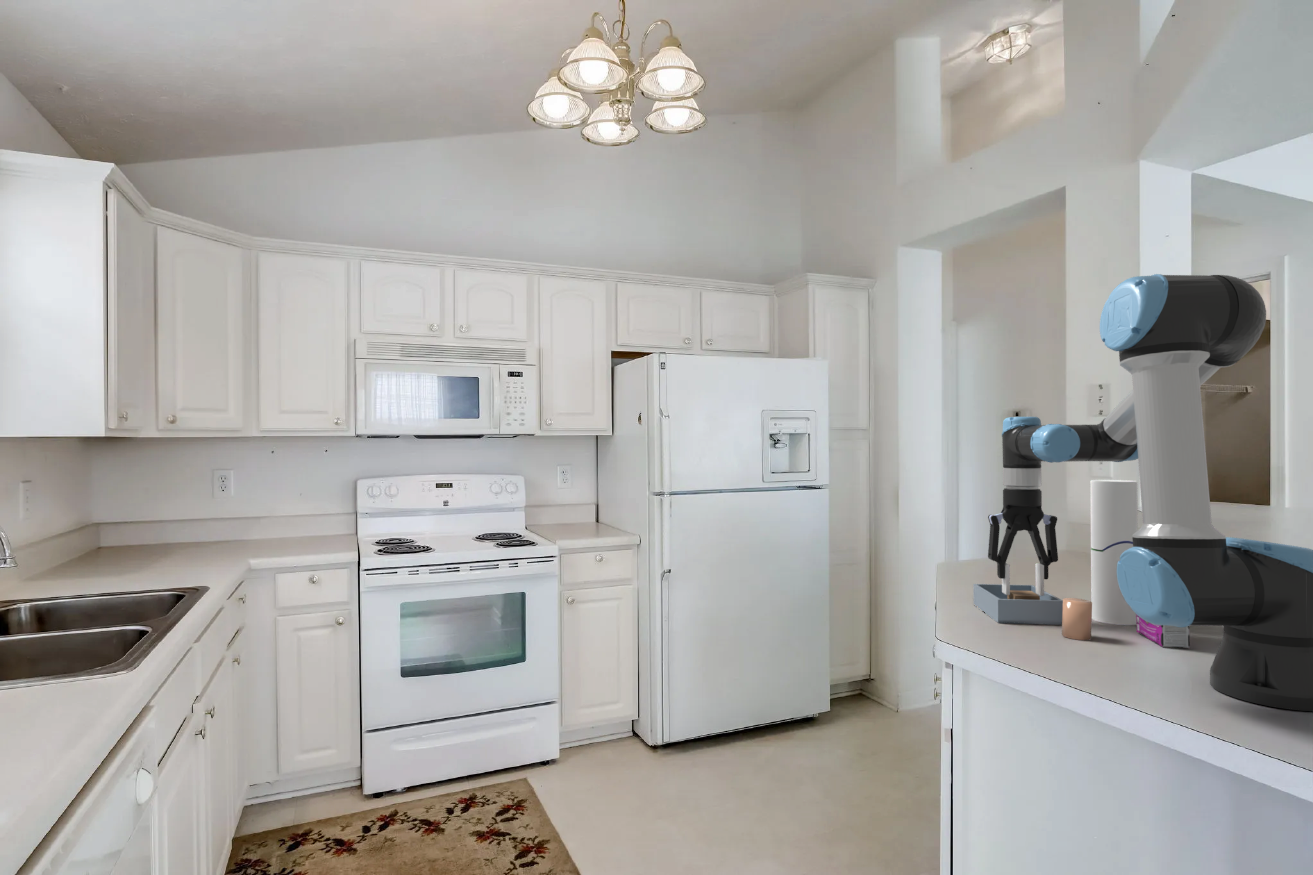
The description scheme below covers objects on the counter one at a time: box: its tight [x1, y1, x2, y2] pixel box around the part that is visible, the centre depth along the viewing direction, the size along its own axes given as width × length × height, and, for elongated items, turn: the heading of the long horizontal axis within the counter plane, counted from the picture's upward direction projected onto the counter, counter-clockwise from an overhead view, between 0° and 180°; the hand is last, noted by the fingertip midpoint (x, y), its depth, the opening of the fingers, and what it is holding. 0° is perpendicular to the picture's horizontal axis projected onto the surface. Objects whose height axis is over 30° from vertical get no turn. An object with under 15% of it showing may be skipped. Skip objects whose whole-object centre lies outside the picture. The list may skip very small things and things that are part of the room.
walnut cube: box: [1007, 590, 1040, 600], centre depth 157 cm, size 5×5×5 cm
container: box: [1089, 479, 1139, 626], centre depth 155 cm, size 9×9×30 cm
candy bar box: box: [1135, 614, 1191, 649], centre depth 139 cm, size 11×5×16 cm, turn 168°
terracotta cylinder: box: [1061, 597, 1093, 641], centre depth 142 cm, size 5×5×7 cm
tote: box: [972, 583, 1063, 626], centre depth 161 cm, size 17×13×5 cm
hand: (1022, 593), depth 157 cm, fingers open, 6 cm apart
